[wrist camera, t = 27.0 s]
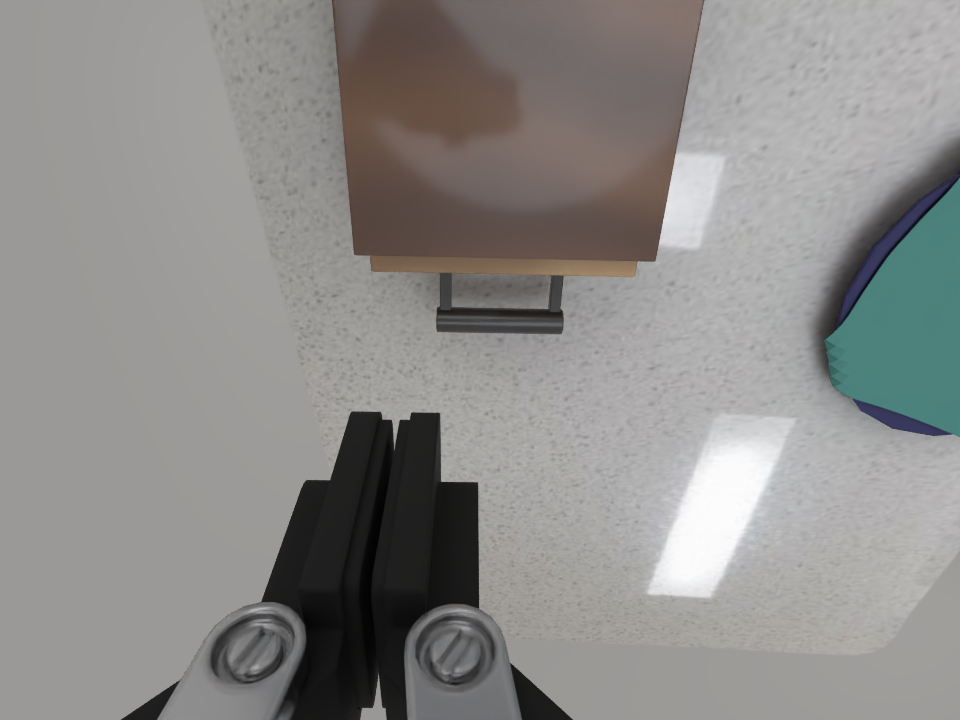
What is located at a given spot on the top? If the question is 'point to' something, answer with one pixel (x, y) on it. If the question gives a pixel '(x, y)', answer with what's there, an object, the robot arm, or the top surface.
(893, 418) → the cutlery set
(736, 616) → the top surface
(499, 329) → the drawer
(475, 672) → the robot arm
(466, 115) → the cabinet
